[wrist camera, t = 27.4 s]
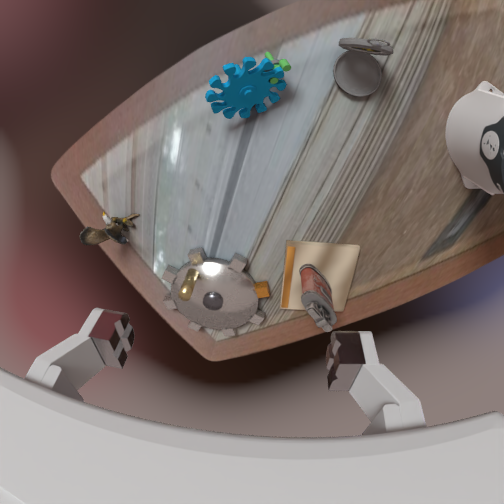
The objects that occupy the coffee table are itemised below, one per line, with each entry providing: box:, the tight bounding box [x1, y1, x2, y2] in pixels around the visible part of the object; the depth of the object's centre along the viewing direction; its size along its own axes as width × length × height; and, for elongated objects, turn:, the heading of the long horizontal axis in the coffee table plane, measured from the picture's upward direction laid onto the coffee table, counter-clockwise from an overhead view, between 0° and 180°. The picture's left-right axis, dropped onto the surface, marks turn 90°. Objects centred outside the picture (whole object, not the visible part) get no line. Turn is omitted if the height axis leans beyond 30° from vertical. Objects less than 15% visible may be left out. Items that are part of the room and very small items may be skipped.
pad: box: [280, 240, 360, 311], centre depth 51 cm, size 12×14×1 cm
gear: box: [205, 52, 291, 119], centre depth 33 cm, size 11×6×10 cm
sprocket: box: [162, 247, 270, 336], centre depth 52 cm, size 20×20×8 cm
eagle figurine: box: [80, 212, 139, 245], centre depth 45 cm, size 8×7×9 cm
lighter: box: [299, 263, 337, 332], centre depth 47 cm, size 8×3×10 cm, turn 39°
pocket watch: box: [333, 38, 393, 96], centre depth 28 cm, size 8×8×10 cm
